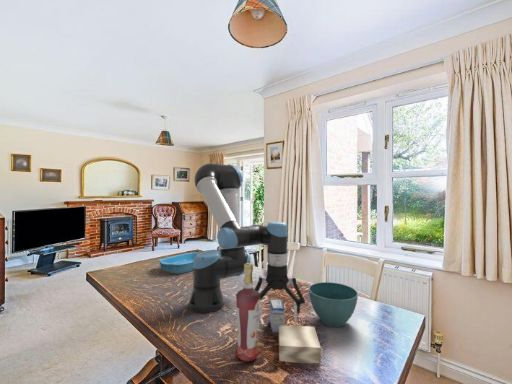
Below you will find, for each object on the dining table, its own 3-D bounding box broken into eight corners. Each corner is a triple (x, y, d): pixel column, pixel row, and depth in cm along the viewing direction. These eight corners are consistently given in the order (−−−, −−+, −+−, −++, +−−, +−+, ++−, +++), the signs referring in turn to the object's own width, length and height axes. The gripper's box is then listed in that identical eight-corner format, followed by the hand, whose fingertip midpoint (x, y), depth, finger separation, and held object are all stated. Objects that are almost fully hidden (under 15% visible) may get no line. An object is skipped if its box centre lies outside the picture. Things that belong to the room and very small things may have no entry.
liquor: (254, 368, 72) (255, 268, 73) (231, 361, 75) (232, 266, 75) (263, 353, 79) (264, 262, 79) (241, 347, 82) (242, 260, 82)
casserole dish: (194, 259, 192) (194, 250, 192) (217, 264, 180) (217, 254, 180) (151, 272, 161) (151, 260, 161) (175, 278, 149) (175, 266, 149)
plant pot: (351, 340, 87) (352, 303, 87) (301, 325, 97) (301, 292, 97) (361, 318, 102) (361, 287, 103) (317, 307, 112) (317, 279, 112)
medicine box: (269, 321, 99) (269, 299, 99) (280, 321, 99) (280, 299, 99) (272, 333, 91) (272, 308, 91) (284, 332, 91) (284, 308, 91)
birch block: (279, 362, 75) (279, 345, 75) (278, 339, 87) (278, 325, 87) (320, 365, 75) (320, 347, 75) (314, 341, 86) (314, 326, 87)
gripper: (243, 266, 92) (242, 325, 92) (312, 267, 91) (312, 327, 91) (244, 260, 99) (244, 315, 99) (309, 261, 99) (308, 317, 98)
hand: (277, 321), depth 95 cm, fingers open, 13 cm apart
